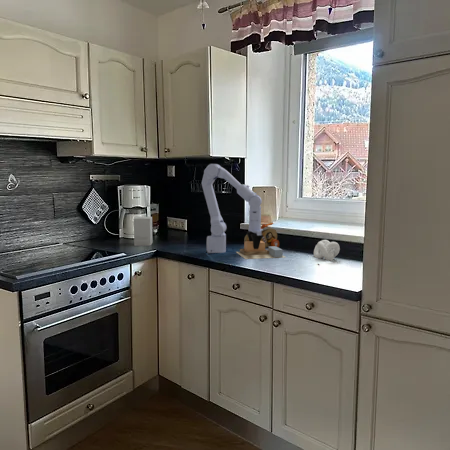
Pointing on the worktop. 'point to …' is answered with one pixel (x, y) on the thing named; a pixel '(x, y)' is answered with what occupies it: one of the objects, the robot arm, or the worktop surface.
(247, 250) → the orange block
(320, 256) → the pretzel
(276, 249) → the pale grey rectangular block
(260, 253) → the jig
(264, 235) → the toy helicopter
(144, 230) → the supplement box
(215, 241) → the robot arm
